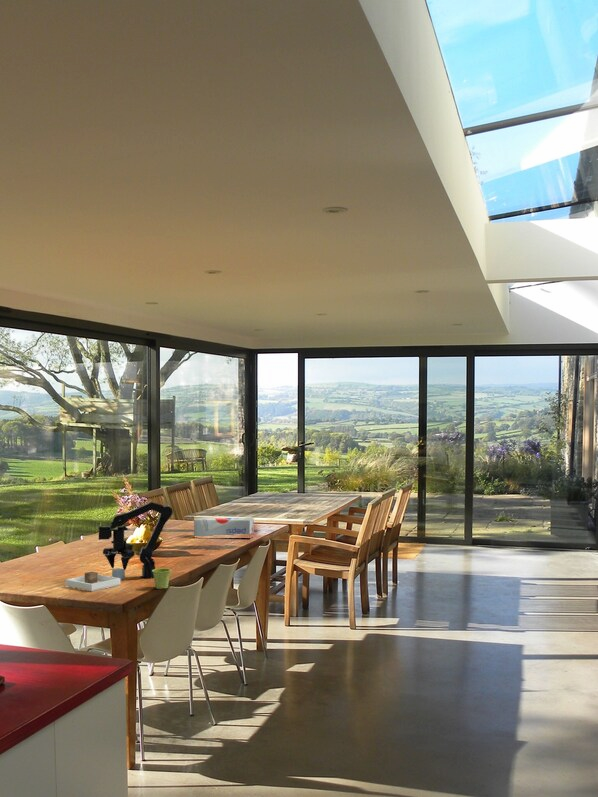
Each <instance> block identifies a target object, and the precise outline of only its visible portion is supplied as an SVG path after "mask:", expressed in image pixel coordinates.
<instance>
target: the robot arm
mask: <svg viewBox="0 0 598 797" xmlns="http://www.w3.org/2000/svg"><path fill="white" fill-rule="evenodd" d="M150 511H155V512H156V513H159V516H158V520H157V522H156V524H155V527H154V529H153V531H152V534H151V535H150V538H148V542H147V544H146V545H145V546H143V545H141V549H140V551H139V552H138V555H139V556H138V557H139V561H140V563H141V564H143V565H142V571H141V574H142V575H141V576H139V578H142V577H143V579H148V578H149V579H154V578H153V577H154V575H153V572H152V570H154V569H156V565H155V564H156V562H155V559H153V557H152V556H153V552H154V548H155V546H156V544H157V542H158V540H159V537H160V535H161V533H162V531H163V528H164V527H165V525H166V523H167V522H168V521H169V520H170V518H171V517H172V515H173V513H174V511H173V508H172V507H171V505H163V504H160V503H156V502H155V501H149V502H148V503H144V504H142V505H141V506H139V507H137V508H135V509H132V510H130V511H126V512H122V513H118V514H115V515H114V516H113V519H112V522H111V523H110V525H109V526H98V540H101V541H102V540H103V541H105V540H110V539H111V538H112V541H111V544H112V547H105V548H103V550H102V555H104V557H105V558H106V559H107V561H108V563H109V565H110V567H111V569H115V558H116V556H117V555H120V556H121V557H120V559H121V565H122V569H124V570H125V571H126V570H127V567H128V564H129V561H130V560H131V558H133V557H135V556H136V554H135V553H136V552H135V551H134V550H133V549H134V545H133V544H130V543H127V540H125V531H128V530H129V529H128V527H127V526H126V525H125V524H126V523H128V522H129V521H130V520H132V519H134V518H136V517H139V516H140V515H143V514H145V513H148V512H150Z"/></svg>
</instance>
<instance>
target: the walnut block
mask: <svg viewBox="0 0 598 797" xmlns="http://www.w3.org/2000/svg"><path fill="white" fill-rule="evenodd" d="M84 576H85V583H90V584H93V583H97V582H98V572H95V571H89V572H84Z"/></svg>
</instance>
